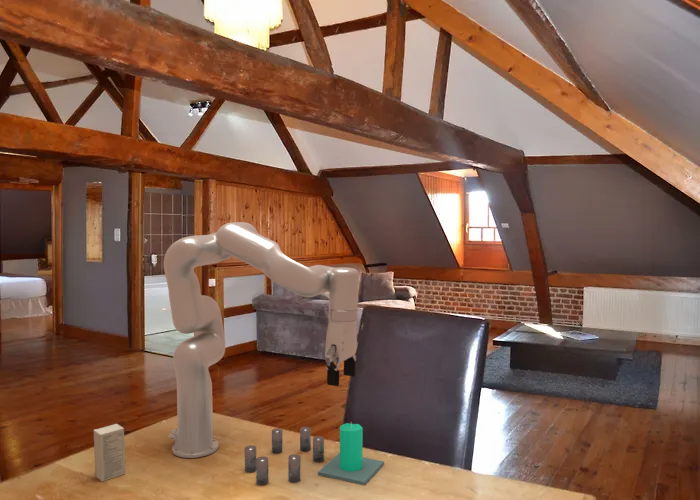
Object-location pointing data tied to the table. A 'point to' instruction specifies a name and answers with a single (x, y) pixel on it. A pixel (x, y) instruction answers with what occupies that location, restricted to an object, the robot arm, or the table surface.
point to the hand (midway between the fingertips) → (341, 380)
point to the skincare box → (109, 452)
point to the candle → (351, 447)
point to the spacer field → (277, 447)
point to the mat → (357, 477)
